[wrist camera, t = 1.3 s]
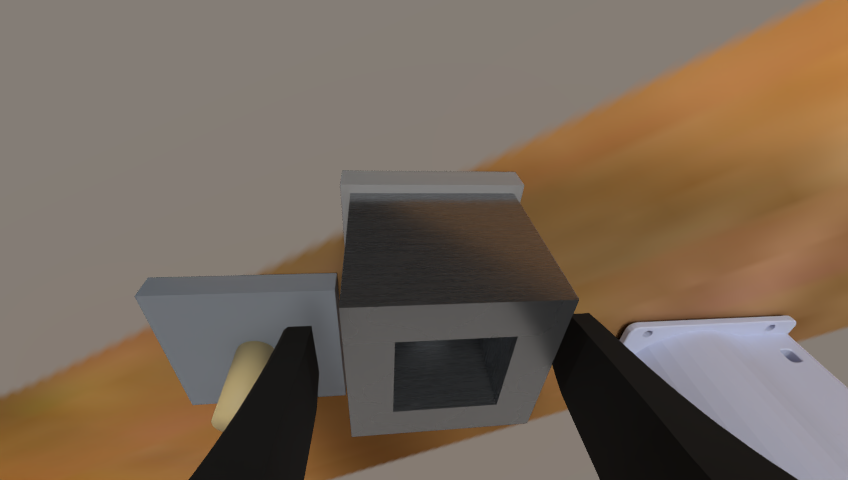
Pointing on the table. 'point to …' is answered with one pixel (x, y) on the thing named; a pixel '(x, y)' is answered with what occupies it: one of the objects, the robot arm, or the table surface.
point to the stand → (425, 184)
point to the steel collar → (447, 311)
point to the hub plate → (241, 331)
